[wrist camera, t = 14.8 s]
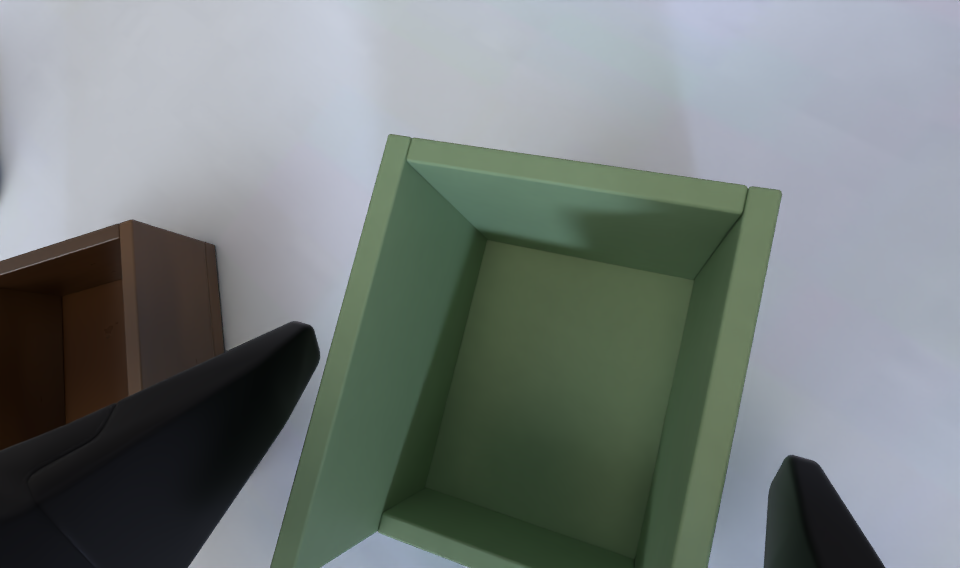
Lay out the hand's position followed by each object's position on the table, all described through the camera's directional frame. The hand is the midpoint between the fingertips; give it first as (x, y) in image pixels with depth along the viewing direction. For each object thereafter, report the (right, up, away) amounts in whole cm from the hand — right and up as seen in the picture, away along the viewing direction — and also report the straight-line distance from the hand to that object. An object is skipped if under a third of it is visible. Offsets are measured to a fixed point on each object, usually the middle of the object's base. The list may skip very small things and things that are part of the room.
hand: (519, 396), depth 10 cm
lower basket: (-13, -1, +10) cm, 16 cm away
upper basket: (+1, -1, +6) cm, 6 cm away
